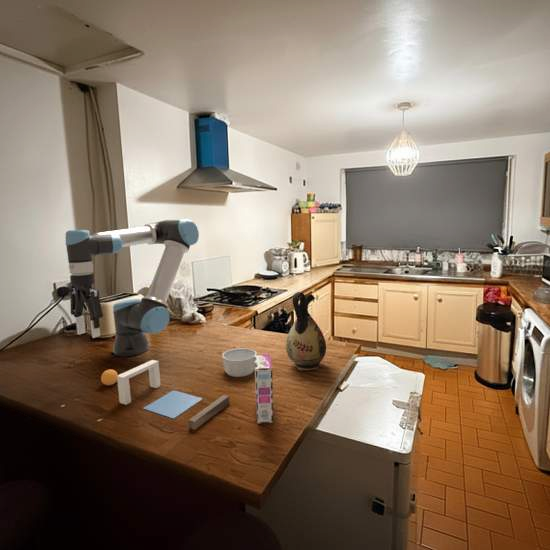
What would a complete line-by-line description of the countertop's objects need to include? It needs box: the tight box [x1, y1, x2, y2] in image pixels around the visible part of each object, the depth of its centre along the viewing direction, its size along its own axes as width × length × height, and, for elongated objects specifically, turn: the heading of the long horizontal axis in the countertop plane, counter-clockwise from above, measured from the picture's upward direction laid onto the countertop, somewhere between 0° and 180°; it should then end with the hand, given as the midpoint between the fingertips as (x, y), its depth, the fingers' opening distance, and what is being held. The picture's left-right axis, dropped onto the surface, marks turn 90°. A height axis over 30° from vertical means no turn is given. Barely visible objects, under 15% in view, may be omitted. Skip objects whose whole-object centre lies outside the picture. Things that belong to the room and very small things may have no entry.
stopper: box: [188, 394, 230, 431], centre depth 106 cm, size 2×16×2 cm, turn 151°
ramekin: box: [221, 347, 258, 378], centre depth 136 cm, size 13×13×7 cm
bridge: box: [116, 359, 162, 406], centre depth 120 cm, size 3×14×9 cm, turn 151°
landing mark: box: [142, 389, 204, 420], centre depth 113 cm, size 13×13×1 cm
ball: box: [100, 368, 119, 386], centre depth 128 cm, size 6×6×6 cm
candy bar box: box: [254, 354, 274, 425], centre depth 105 cm, size 11×5×16 cm, turn 5°
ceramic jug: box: [285, 291, 327, 371], centre depth 136 cm, size 17×15×30 cm
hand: (88, 335), depth 130 cm, fingers open, 8 cm apart
